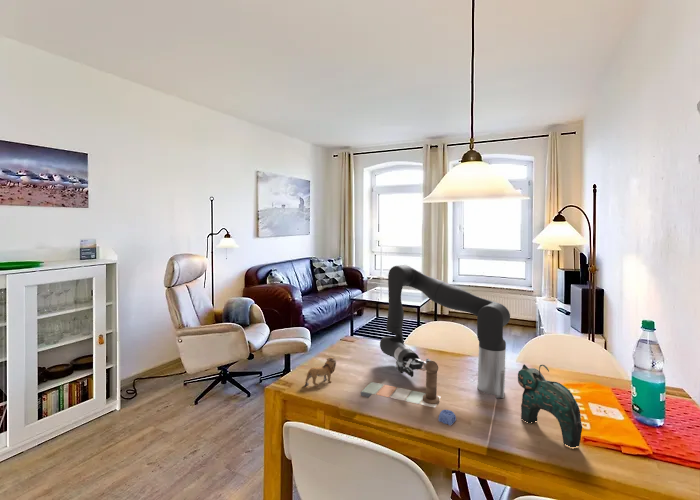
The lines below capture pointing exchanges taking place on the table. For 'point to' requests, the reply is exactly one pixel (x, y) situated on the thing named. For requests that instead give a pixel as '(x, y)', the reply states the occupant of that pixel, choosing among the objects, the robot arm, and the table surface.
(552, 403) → the ceramic cat
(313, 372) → the lion figurine
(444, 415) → the decorative dice
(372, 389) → the game board
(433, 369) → the pawn
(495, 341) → the robot arm
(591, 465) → the table surface
